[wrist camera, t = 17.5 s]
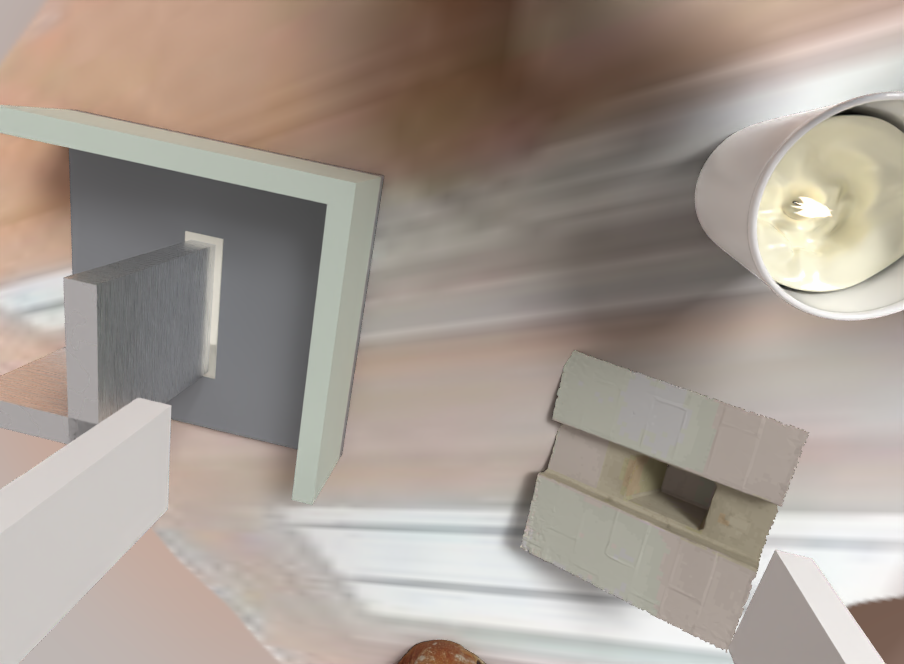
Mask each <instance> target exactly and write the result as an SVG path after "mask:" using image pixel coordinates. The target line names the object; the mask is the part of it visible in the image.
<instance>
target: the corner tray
mask: <svg viewBox="0 0 904 664" xmlns="http://www.w3.org/2000/svg"><path fill="white" fill-rule="evenodd" d="M0 133H3V134H8V135H12V136H17V137H22V138H26V139H31V140H35V141H40V142H45V143H49V144H54V145H58V146H63V147H68V148H69V169H70V203H71V237H72V270H73V275H74V274H77V273H81V272H84V271H87V270H91V269H94V268H97V267H101V266H104V265H108V264H111V263H114V262H118V261H121V260H124V259H128V258H131V257H134V256H138V255H141V254H145V253H148V252H151V251H155V250H158V249H161V248H165V247H168V246H172V245H175V244H178V243H182V242H185V241H188V240H196V241H200V242H205V243H209V244H213V245H216V249H215V266H214V283H213V300H212V317H211V334H210V351H209V368H208V372H207V373H206V374H205V375H203V376H202V377H201V378H199V379H198V380H196V381H195V382H194V383H192V384H191V385H190V386H188V387H187V388H185V389H184V390H183V391H181V392H180V393H179V394H177V395H176V396H175V397H173V398H172V399H170V400H169V401H168V402H166V403H165V404H168V405H171V419H173V420H177V421H181V422H185V423H189V424H194V425H198V426H202V427H206V428H210V429H214V430H219V431H223V432H227V433H231V434H235V435H239V436H244V437H248V438H252V439H256V440H260V441H264V442H269V443H273V444H277V445H281V446H285V447H289V448H294V449H298V451H297V460H296V468H295V476H294V485H293V493H292V500H294V501H298V502H302V503H306V504H310V505H313V503H314V502H315V500H316V498H317V496H318V495H319V493H320V491H321V490H322V488H323V486H324V484H325V483H326V481H327V479H328V478H329V476H330V474H331V472H332V471H333V469H334V467H335V465H336V464H337V462H338V460H339V459H340V457H341V455H342V451H343V444H344V438H345V431H346V425H347V418H348V411H349V405H350V398H351V392H352V385H353V378H354V372H355V365H356V358H357V352H358V345H359V339H360V332H361V325H362V319H363V312H364V306H365V299H366V292H367V286H368V279H369V272H370V266H371V259H372V253H373V246H374V239H375V233H376V226H377V220H378V213H379V206H380V200H381V193H382V186H383V180H384V176H381V175H377V174H372V173H367V172H363V171H358V170H353V169H349V168H344V167H339V166H335V165H330V164H325V163H321V162H316V161H311V160H307V159H302V158H297V157H293V156H288V155H283V154H279V153H274V152H269V151H265V150H260V149H255V148H251V147H246V146H241V145H237V144H232V143H227V142H223V141H218V140H213V139H209V138H204V137H199V136H195V135H190V134H185V133H181V132H176V131H171V130H167V129H162V128H158V127H153V126H148V125H144V124H139V123H134V122H130V121H125V120H120V119H116V118H111V117H106V116H102V115H97V114H92V113H88V112H83V111H78V110H68V109H53V108H39V107H24V106H10V105H0Z"/></svg>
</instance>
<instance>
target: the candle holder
mask: <svg viewBox="0 0 904 664" xmlns="http://www.w3.org/2000/svg"><path fill="white" fill-rule="evenodd" d="M695 208H696V213H697V217H698V220H699V222H700V224H701V226H702V228H703V230H704V231H705V233H706V234H707V236H708V237H709V238H710V239H711V240H712V241H713V242H714V243H715V244H716V245H717V246H718V247H719V248H721V249H722V250H723V251H724V252H726V253H727V254H728V255H729V256H731V257H732V258H733V259H734V260H736V261H737V262H738V263H739V264H741V265H742V266H743V267H745V268H746V269H747V270H748V271H750V272H751V273H752V274H754V275H755V276H756V277H757V278H759V279H760V280H761V281H762V282H764V283H765V284H766V285H768V286H769V287H770V288H771V290H772V291H773V292H774V293H775V294H777V295H778V296H779V297H780V298H781V299H783V300H784V301H785V302H787V303H788V304H790V305H791V306H793V307H795V308H797V309H799V310H801V311H803V312H806V313H808V314H811V315H814V316H817V317H821V318H826V319H832V320H843V321H856V320H867V319H874V318H879V317H883V316H887V315H890V314H894V313H897V312H899V311H902V310H904V92H900V91H896V92H881V93H874V94H869V95H864V96H860V97H856V98H853V99H850V100H847V101H845V102H842V103H838V104H834V105H829V106H825V107H821V108H816V109H812V110H808V111H804V112H799V113H795V114H791V115H786V116H782V117H778V118H774V119H770V120H766V121H762V122H759V123H755V124H753V125H750V126H747V127H745V128H743V129H741V130H739V131H737V132H735V133H734V134H732V135H731V136H729V137H728V138H727V139H725V140H724V141H723V142H722V143H721V144H720V145H719V146H718V147H717V148H716V149H715V150H714V151H713V152H712V153H711V155H710V156H709V158H708V159H707V161H706V162H705V164H704V166H703V168H702V170H701V172H700V174H699V177H698V181H697V184H696V190H695Z"/></svg>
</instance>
